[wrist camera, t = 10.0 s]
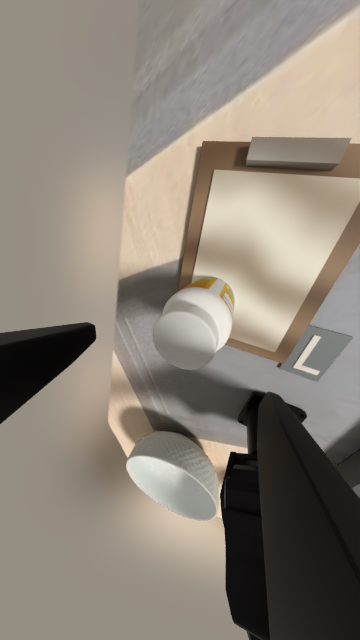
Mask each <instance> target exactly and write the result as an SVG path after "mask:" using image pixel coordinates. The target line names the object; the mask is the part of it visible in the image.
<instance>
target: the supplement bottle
mask: <svg viewBox="0 0 360 640" xmlns="http://www.w3.org/2000/svg"><path fill="white" fill-rule="evenodd" d="M234 305H235V298H234V293H233V291H232V289H231V287H230V286H229V285H228V284H227V283H226V282H225V281H224V280H222V279H220V278H217V277H204V278H201V279H198V280H197V281H195V282H193V283H192V284H190V285H188V286H187V287H185V288H183V289H182V290H180V291H178V292H177V293H176V294H174V295H173V296H172V297H171V298H170V299H169V300H168V301H167V303H166V305H165V307H164V309H163V313H162V316H161V317H160V318H159V319H158V321H157V322H156V324H155V326H154V329H153V341H154V344H155V347H156V349H157V351H158V352H159V354H160V355H161V356H162V357H163V358H164V359H165V360H166V361H167V362H168V363H170V364H172V365H173V366H176V367H178V368H181V369H187V370H194V369H199V368H202V367H204V366H205V365H207V364H208V363H209V362H210V361H211V360H212V358H213V357H214V354H215V352H216V351H218V350H219V349H220V348H222V347H223V346H224V344H225V343H226V342H227V340H228V338H229V336H230V333H231V329H232V322H233V314H234Z"/></svg>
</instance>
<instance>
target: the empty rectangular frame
mask: <svg viewBox="0 0 360 640" xmlns="http://www.w3.org/2000/svg"><path fill="white" fill-rule="evenodd" d="M336 469H337V470H338V471H339V472H340V474H341V475H342V476H343V478H344V479H345V480H346V481H347V483H348V484H349V485H350V486H351V488H352V489H353V490H354V492H355V493H356V494H357V495H358V497H359V498H360V450H358V451H357V452H356V453H354V454H353V455H351V456H350V457H349V458H347V459H346V460H345V461H343V462H342V463H340V464H339V465H338V466H336Z"/></svg>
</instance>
